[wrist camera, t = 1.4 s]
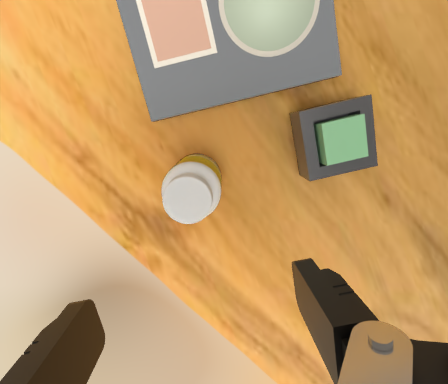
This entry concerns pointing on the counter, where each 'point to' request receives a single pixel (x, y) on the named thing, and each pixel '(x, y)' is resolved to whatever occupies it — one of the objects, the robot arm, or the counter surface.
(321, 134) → the button
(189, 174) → the supplement bottle
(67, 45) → the counter surface
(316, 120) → the button housing
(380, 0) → the counter surface
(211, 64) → the picture board
